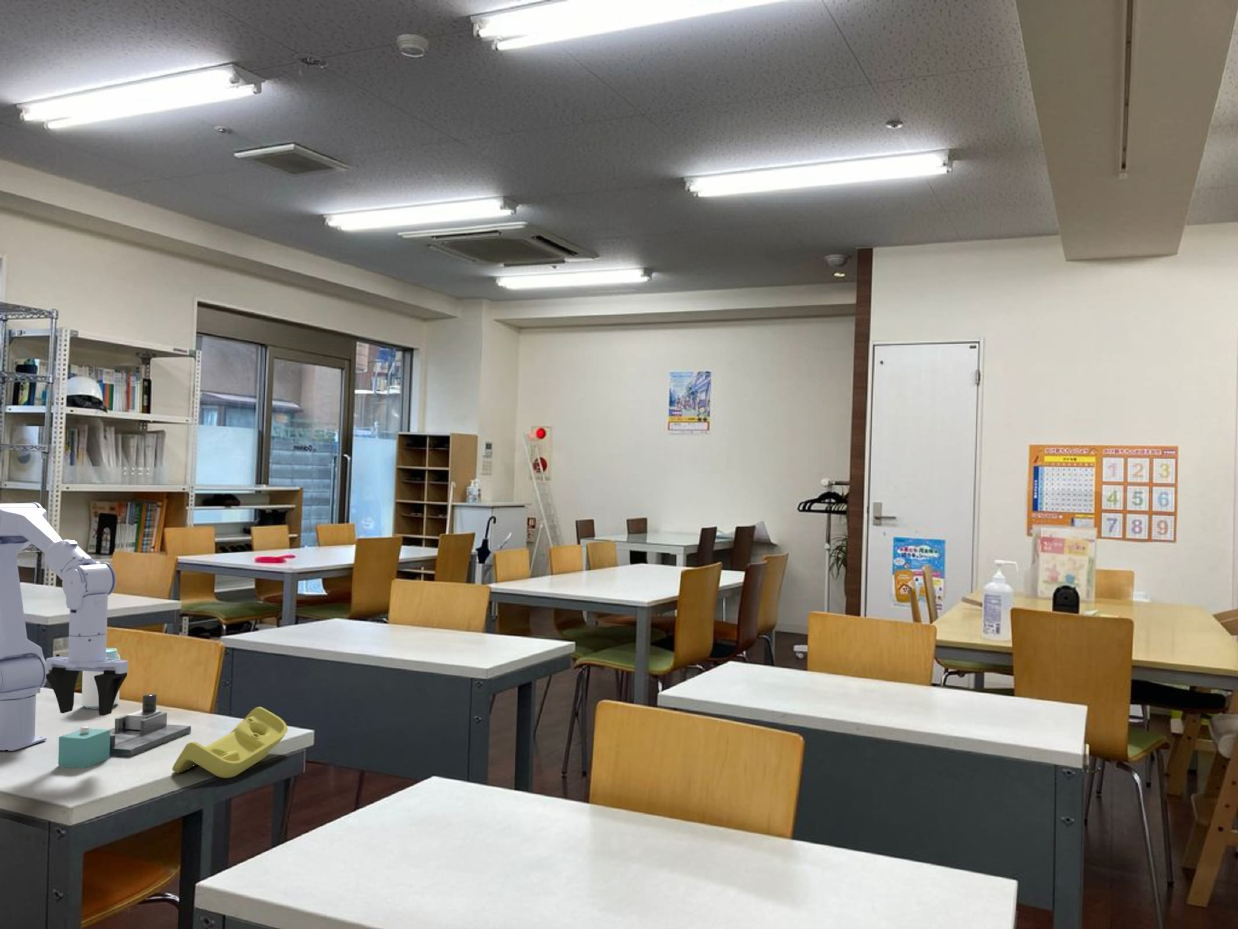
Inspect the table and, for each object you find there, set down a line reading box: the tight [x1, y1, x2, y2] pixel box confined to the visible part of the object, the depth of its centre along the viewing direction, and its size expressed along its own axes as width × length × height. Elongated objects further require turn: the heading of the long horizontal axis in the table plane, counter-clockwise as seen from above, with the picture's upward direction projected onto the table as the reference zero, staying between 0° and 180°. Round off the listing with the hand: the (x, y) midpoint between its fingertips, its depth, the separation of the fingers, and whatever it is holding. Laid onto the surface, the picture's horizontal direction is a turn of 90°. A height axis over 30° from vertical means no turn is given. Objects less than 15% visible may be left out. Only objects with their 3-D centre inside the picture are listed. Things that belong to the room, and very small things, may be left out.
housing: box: [57, 726, 110, 769], centre depth 163 cm, size 5×6×6 cm
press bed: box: [109, 711, 192, 757], centre depth 176 cm, size 13×17×4 cm
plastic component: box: [171, 706, 288, 779], centre depth 165 cm, size 20×7×10 cm
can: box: [81, 647, 121, 710], centre depth 204 cm, size 7×7×12 cm
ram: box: [125, 693, 163, 730], centre depth 182 cm, size 4×5×6 cm
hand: (85, 713), depth 164 cm, fingers open, 7 cm apart
